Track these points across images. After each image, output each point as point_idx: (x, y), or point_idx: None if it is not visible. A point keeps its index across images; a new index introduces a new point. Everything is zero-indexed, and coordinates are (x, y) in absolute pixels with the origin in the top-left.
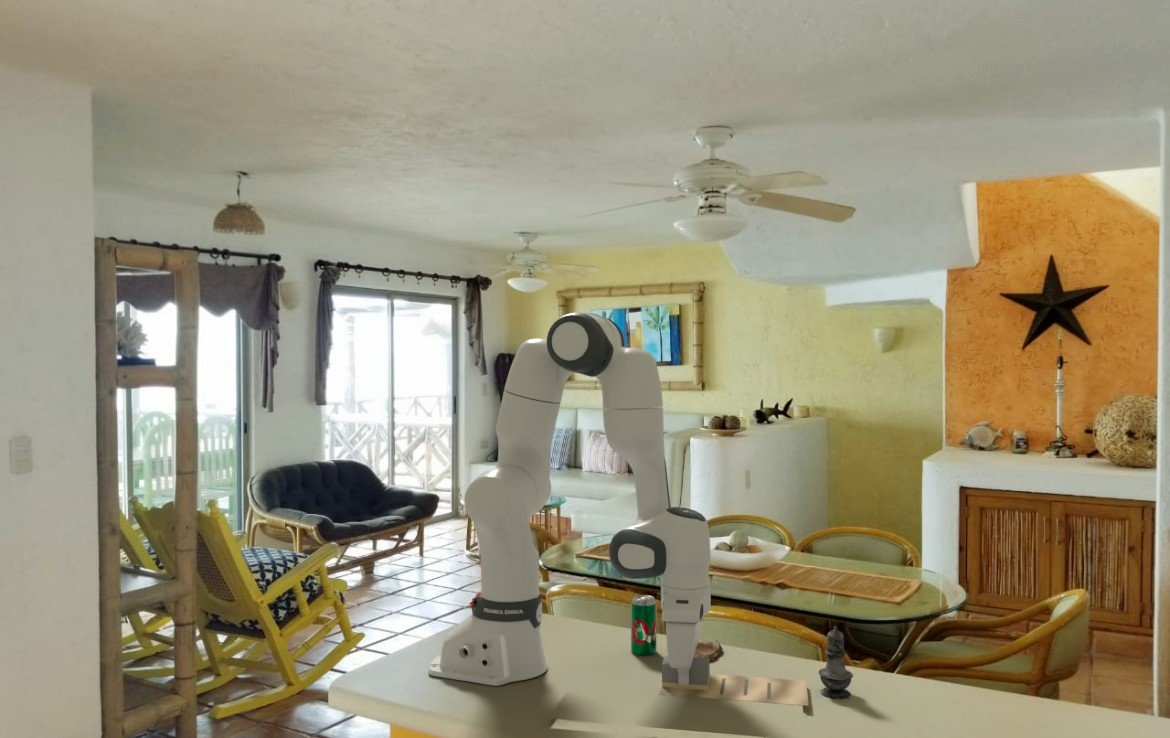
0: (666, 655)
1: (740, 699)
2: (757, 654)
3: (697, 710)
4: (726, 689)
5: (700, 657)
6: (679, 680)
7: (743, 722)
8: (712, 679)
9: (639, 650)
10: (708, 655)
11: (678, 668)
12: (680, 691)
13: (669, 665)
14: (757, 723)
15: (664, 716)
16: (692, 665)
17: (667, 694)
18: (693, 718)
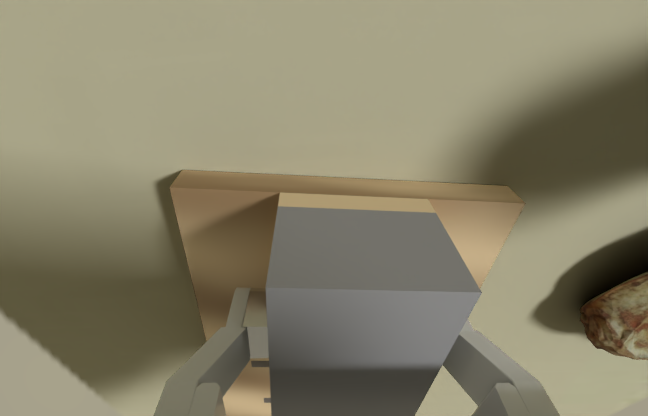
0: (473, 298)
1: (225, 394)
2: (641, 390)
3: (149, 295)
4: None
5: (625, 319)
6: (233, 302)
7: (120, 378)
8: None
9: None
10: (615, 348)
11: (179, 373)
12: (240, 266)
13: (268, 319)
14: (131, 396)
15: (10, 201)
16: (285, 400)
17: (180, 222)
18: (66, 288)
